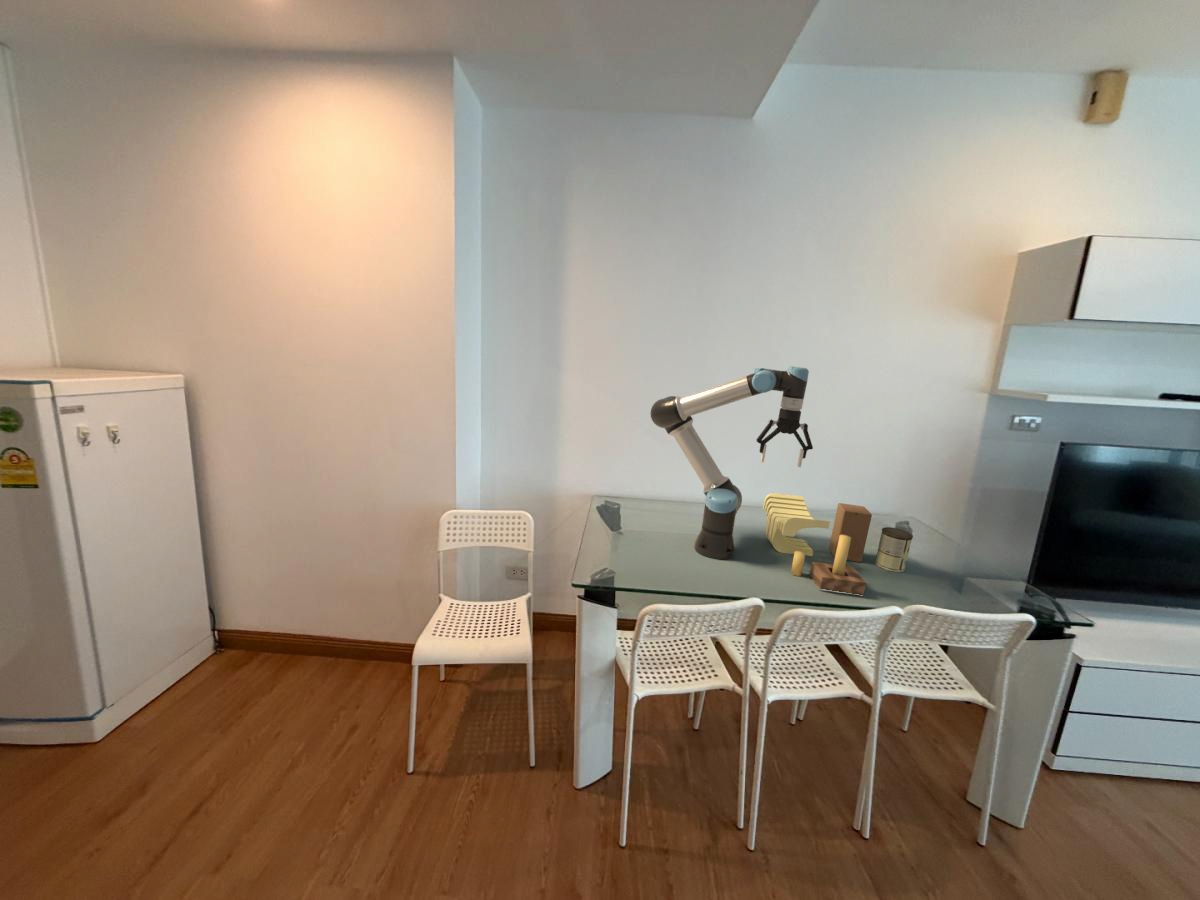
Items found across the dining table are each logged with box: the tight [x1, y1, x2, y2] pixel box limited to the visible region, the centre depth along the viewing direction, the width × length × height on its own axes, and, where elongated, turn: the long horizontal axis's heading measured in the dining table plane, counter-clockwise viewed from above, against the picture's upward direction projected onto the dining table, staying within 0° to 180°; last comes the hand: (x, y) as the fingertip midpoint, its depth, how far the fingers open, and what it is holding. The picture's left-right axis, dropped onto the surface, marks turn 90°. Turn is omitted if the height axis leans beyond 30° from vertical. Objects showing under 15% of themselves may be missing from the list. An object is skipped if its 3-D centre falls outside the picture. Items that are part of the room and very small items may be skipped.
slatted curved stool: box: [762, 492, 831, 557], centre depth 201 cm, size 30×16×18 cm, turn 176°
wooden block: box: [828, 502, 873, 563], centre depth 197 cm, size 10×10×20 cm
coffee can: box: [874, 526, 914, 573], centre depth 191 cm, size 10×10×14 cm
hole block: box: [809, 561, 867, 596], centre depth 172 cm, size 14×12×5 cm
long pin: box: [832, 535, 851, 576], centre depth 170 cm, size 4×4×18 cm
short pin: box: [790, 551, 806, 577], centre depth 178 cm, size 4×4×8 cm
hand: (780, 463), depth 190 cm, fingers open, 13 cm apart
